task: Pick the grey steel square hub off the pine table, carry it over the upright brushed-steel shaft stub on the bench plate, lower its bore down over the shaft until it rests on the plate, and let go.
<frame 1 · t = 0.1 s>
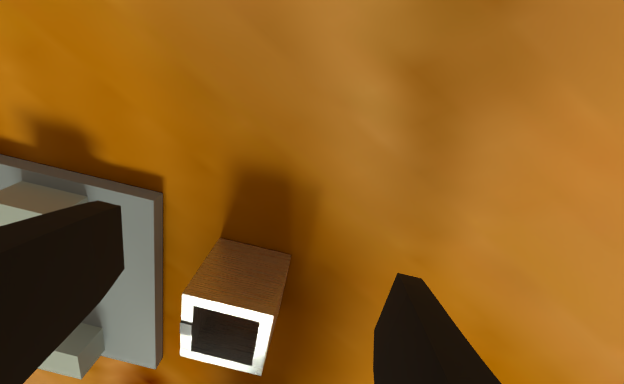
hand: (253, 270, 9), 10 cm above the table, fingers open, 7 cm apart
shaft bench: (79, 267, 23), on the table
hub: (251, 274, 22), on the table
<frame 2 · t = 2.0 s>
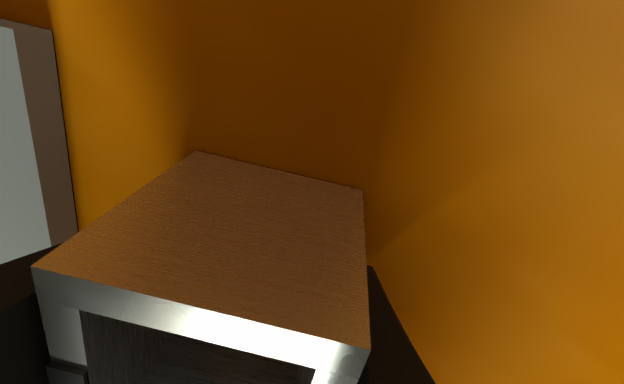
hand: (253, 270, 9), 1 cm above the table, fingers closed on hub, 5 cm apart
hub: (266, 240, 10), on the table, touching gripper
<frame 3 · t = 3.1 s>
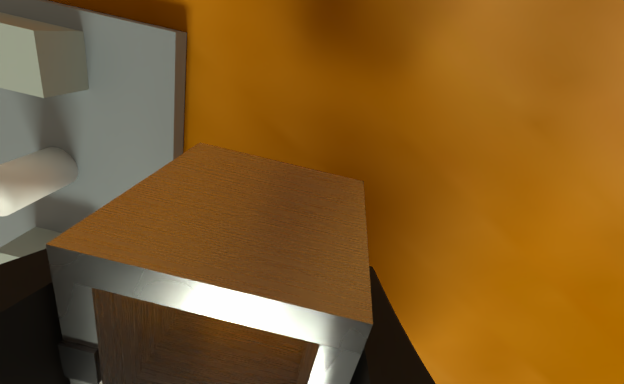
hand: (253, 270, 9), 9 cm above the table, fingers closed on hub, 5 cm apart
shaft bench: (74, 159, 18), on the table
hub: (268, 231, 10), point 7 cm above the table, touching gripper
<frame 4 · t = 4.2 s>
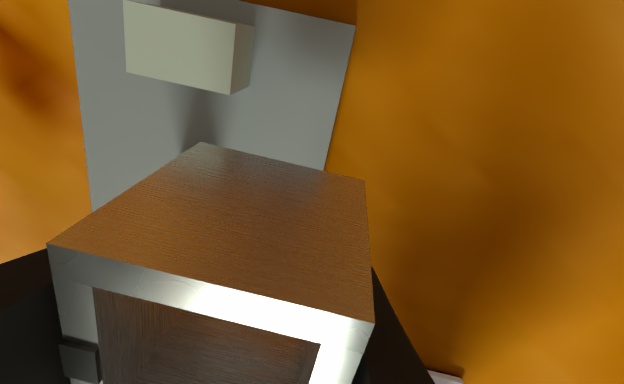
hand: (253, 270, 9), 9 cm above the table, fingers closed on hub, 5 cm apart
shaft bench: (208, 159, 17), on the table
hub: (269, 231, 10), point 7 cm above the table, touching gripper
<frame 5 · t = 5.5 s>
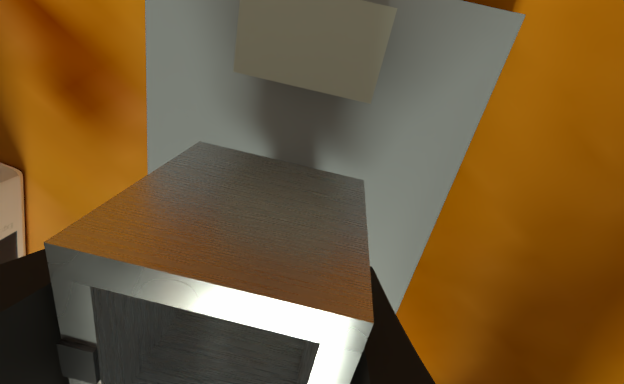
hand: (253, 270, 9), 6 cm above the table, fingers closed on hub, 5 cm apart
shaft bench: (294, 178, 14), on the table
hub: (269, 230, 10), point 5 cm above the table, touching gripper
when the fingers open (3 cm above the table, at t = 6.6 s): hub stays where it is, resting on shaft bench.
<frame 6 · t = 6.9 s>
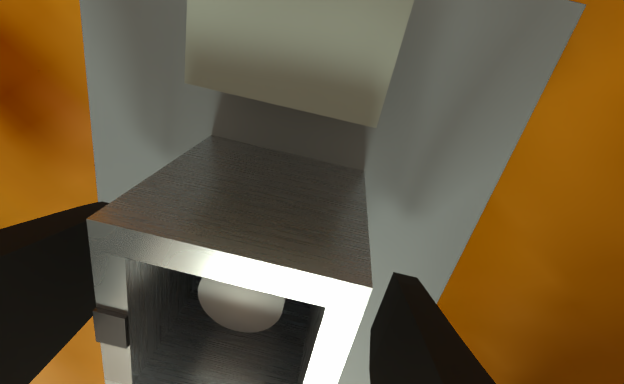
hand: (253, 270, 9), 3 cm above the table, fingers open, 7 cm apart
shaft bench: (280, 209, 12), on the table
hub: (275, 219, 11), point 1 cm above the table, touching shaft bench
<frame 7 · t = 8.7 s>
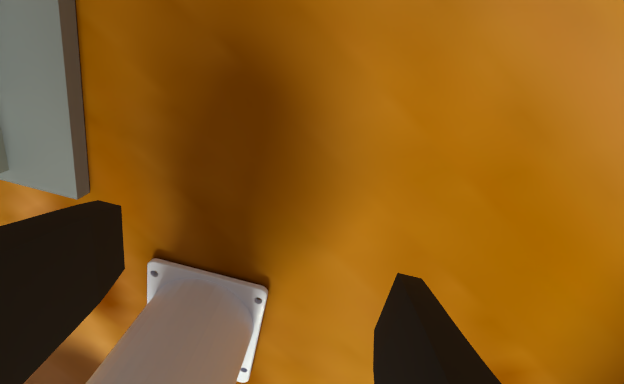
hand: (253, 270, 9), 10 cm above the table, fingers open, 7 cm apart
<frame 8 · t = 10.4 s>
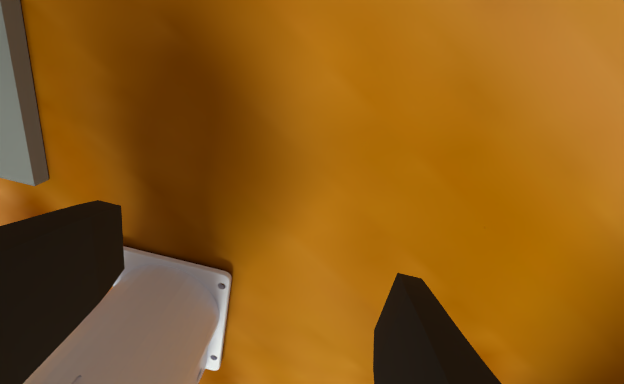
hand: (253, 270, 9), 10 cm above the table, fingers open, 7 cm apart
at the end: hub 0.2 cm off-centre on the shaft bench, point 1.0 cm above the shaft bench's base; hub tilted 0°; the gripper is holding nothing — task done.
